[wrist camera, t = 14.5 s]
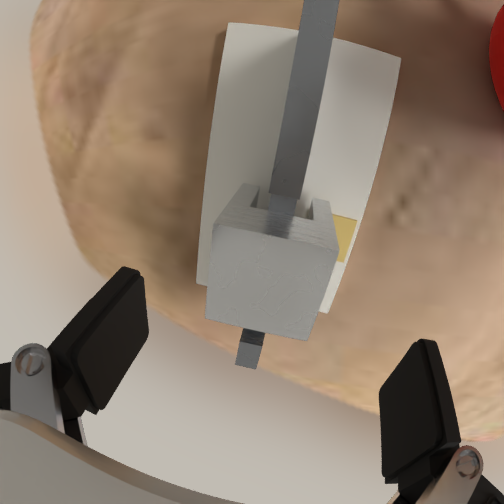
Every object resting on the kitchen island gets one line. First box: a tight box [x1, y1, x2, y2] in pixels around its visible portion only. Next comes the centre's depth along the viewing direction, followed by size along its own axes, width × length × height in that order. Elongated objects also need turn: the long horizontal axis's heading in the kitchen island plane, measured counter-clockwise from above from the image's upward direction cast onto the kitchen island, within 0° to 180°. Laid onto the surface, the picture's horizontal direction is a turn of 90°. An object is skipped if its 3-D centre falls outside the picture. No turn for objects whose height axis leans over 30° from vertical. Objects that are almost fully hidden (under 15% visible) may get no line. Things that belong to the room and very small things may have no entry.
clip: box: [205, 183, 340, 341], centre depth 15 cm, size 5×5×6 cm
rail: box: [235, 0, 339, 369], centre depth 14 cm, size 18×1×6 cm, turn 171°
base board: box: [196, 22, 401, 313], centre depth 18 cm, size 18×10×1 cm, turn 171°
